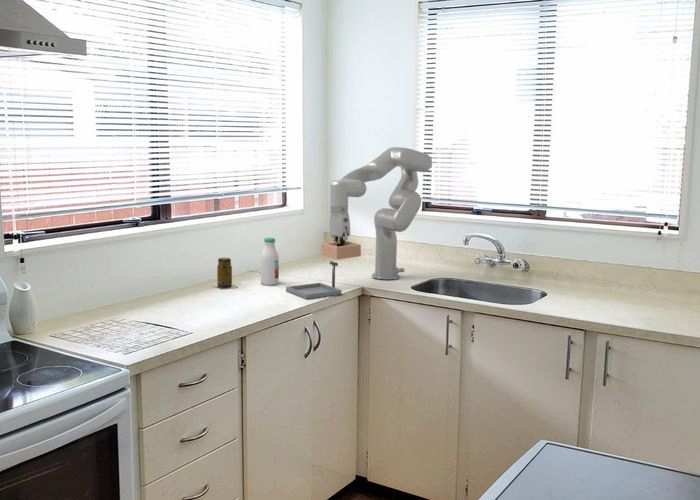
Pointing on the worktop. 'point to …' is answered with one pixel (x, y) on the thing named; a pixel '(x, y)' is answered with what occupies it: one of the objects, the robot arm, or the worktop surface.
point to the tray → (313, 290)
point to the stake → (333, 272)
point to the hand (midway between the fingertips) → (339, 251)
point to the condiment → (224, 274)
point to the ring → (341, 250)
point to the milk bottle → (269, 263)
